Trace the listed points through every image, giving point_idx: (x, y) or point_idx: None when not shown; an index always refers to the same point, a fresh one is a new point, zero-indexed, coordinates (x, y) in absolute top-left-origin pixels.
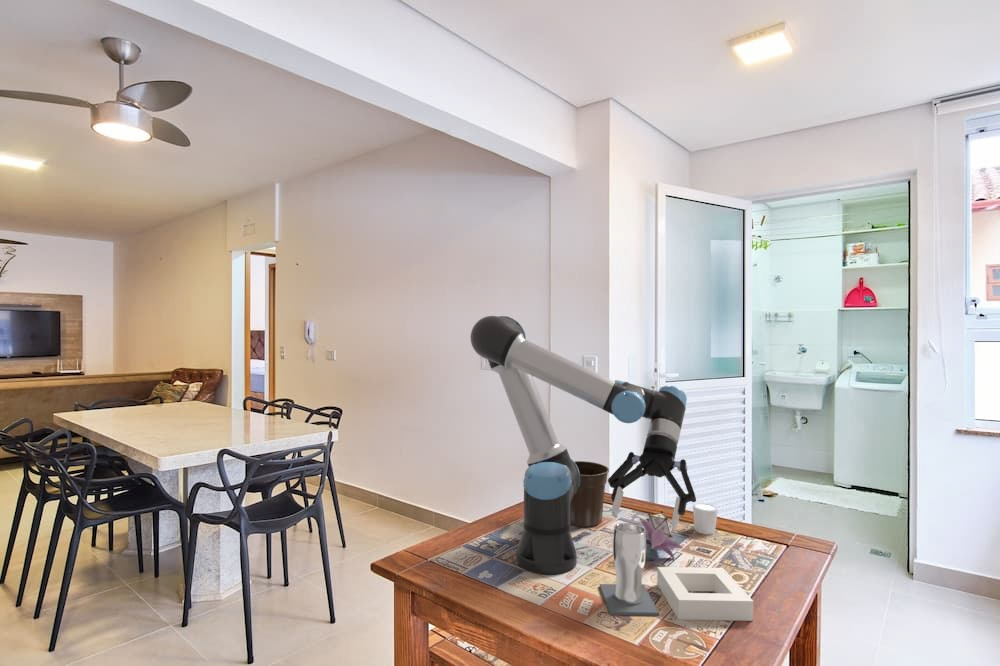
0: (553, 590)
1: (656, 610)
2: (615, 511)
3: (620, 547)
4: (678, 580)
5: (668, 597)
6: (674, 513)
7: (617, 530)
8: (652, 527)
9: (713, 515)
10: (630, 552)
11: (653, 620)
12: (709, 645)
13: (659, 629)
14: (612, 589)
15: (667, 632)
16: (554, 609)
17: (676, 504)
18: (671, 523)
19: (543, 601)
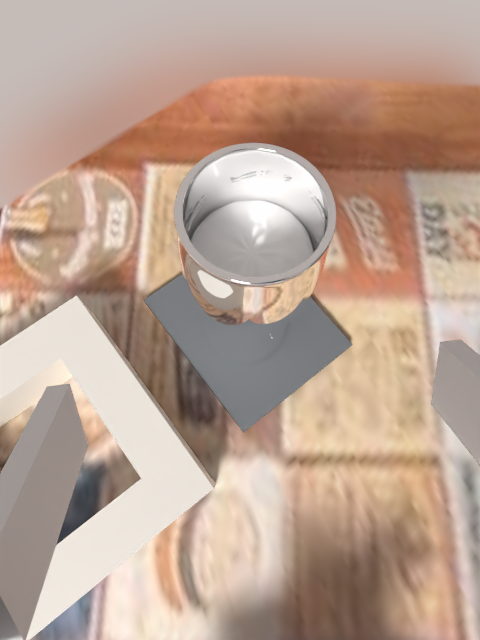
0: (431, 248)
1: (153, 306)
2: (445, 365)
3: (261, 184)
4: (112, 426)
5: (142, 383)
6: (36, 433)
7: (291, 152)
8: None
9: None
10: (219, 197)
11: (150, 272)
12: (3, 252)
13: (124, 244)
14: (305, 338)
15: (103, 244)
16: (367, 175)
17: (5, 497)
18: (66, 384)
19: (411, 189)
